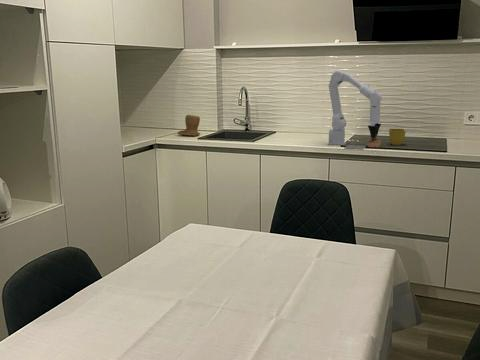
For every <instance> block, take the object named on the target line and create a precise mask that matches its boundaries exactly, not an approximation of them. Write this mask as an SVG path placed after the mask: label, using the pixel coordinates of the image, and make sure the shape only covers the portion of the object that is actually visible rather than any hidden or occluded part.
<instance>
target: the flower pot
mask: <svg viewBox="0 0 480 360" xmlns="http://www.w3.org/2000/svg"><path fill="white" fill-rule="evenodd" d="M388 132H389V133H388V135H389V136H388V137H389V141H390V144H391V145H392V146H402V144H403V143H404V141H405V136H406V133H407V132H406V130H405V128H389V129H388Z"/></svg>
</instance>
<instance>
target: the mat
mask: <svg viewBox="0 0 480 360" xmlns="http://www.w3.org/2000/svg"><path fill="white" fill-rule="evenodd" d="M364 148H365V149H366V148H368V147H367V145H354V144H347V145H346V146H345V147H344V148H343V149H346V150H360V151H361V150H365V149H364Z"/></svg>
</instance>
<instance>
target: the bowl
mask: <svg viewBox="0 0 480 360" xmlns="http://www.w3.org/2000/svg"><path fill="white" fill-rule="evenodd" d="M381 143H382V141H381V142H377V143H372V142H366V146H368V147H367V148H374V147H375V148H380V147H381V146H382V145H381Z"/></svg>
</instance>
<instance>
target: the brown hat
mask: <svg viewBox="0 0 480 360" xmlns="http://www.w3.org/2000/svg"><path fill="white" fill-rule="evenodd" d="M200 120H201V117H200V116H199V115H193V114H192V115H191V114H186V115H185V129H184V130H179V131H178V132H177V133H176V134H177V135H179V136H187V137H194V136H195V137H196V136H200V135H201V132H199V131H198V129H199V125H200V122H201V121H200Z"/></svg>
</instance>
